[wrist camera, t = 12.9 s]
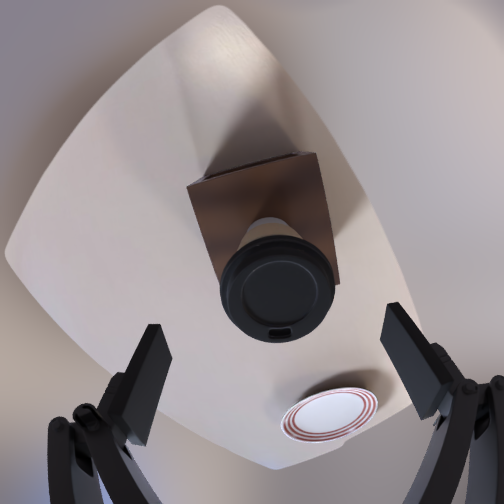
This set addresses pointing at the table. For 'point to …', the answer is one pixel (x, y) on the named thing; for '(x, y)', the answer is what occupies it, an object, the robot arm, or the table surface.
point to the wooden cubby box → (263, 204)
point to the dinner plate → (329, 414)
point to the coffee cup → (276, 283)
